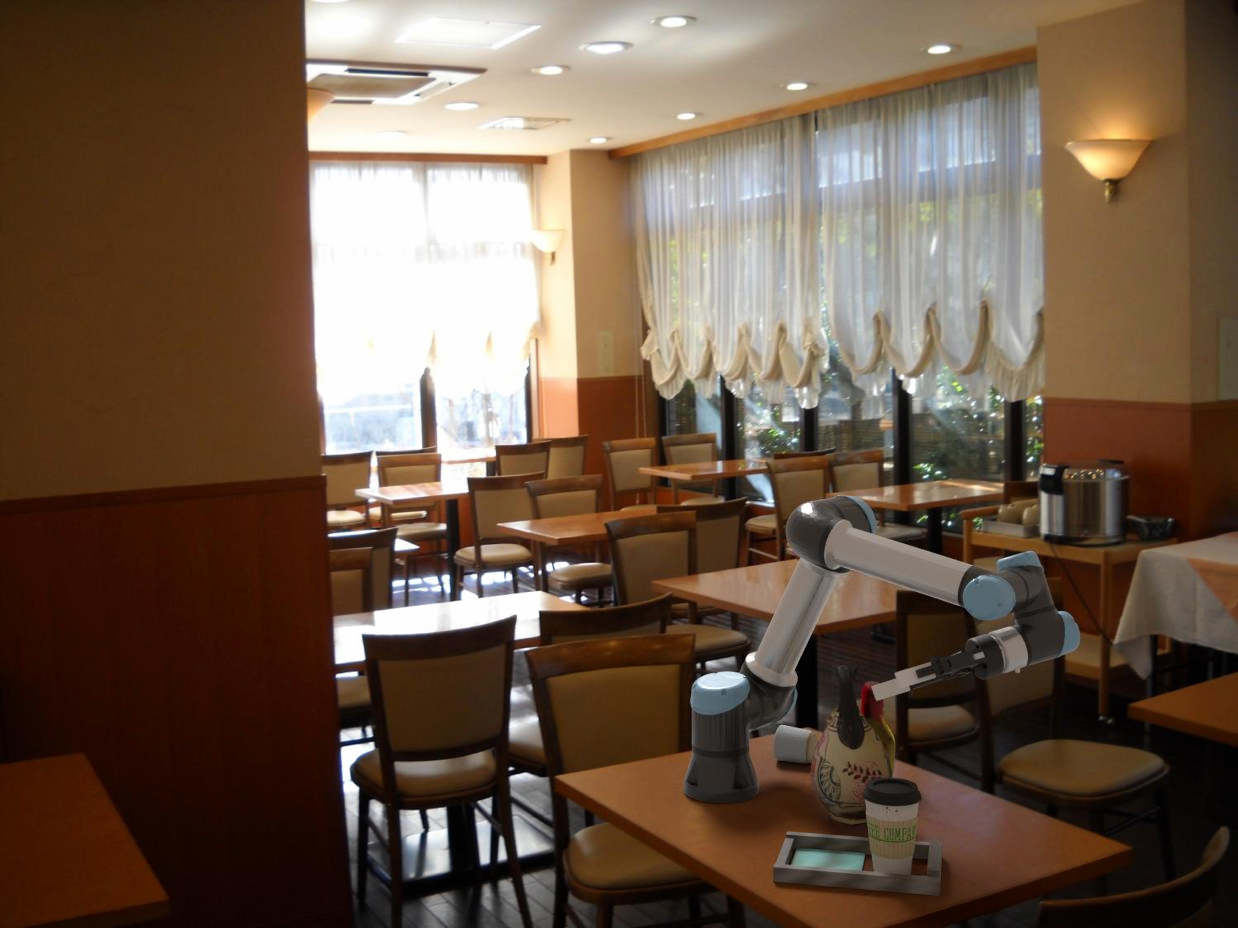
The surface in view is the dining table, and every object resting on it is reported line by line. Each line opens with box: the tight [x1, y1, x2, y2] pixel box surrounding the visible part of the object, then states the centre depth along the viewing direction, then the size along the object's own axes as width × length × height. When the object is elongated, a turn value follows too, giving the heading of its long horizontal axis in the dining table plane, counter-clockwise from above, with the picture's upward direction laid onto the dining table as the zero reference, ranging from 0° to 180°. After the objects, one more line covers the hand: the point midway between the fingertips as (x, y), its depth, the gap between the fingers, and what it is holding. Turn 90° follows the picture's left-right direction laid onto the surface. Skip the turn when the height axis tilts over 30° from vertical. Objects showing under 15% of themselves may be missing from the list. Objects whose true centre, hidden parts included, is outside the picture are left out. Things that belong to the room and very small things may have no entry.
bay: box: [772, 831, 943, 897], centre depth 220 cm, size 27×17×4 cm, turn 75°
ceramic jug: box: [809, 664, 893, 825], centre depth 244 cm, size 17×15×30 cm
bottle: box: [859, 680, 896, 776], centre depth 270 cm, size 12×6×20 cm, turn 36°
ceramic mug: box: [773, 724, 818, 765], centre depth 282 cm, size 11×8×8 cm
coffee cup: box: [862, 777, 923, 875], centre depth 219 cm, size 10×10×15 cm
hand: (885, 687), depth 224 cm, fingers open, 13 cm apart
